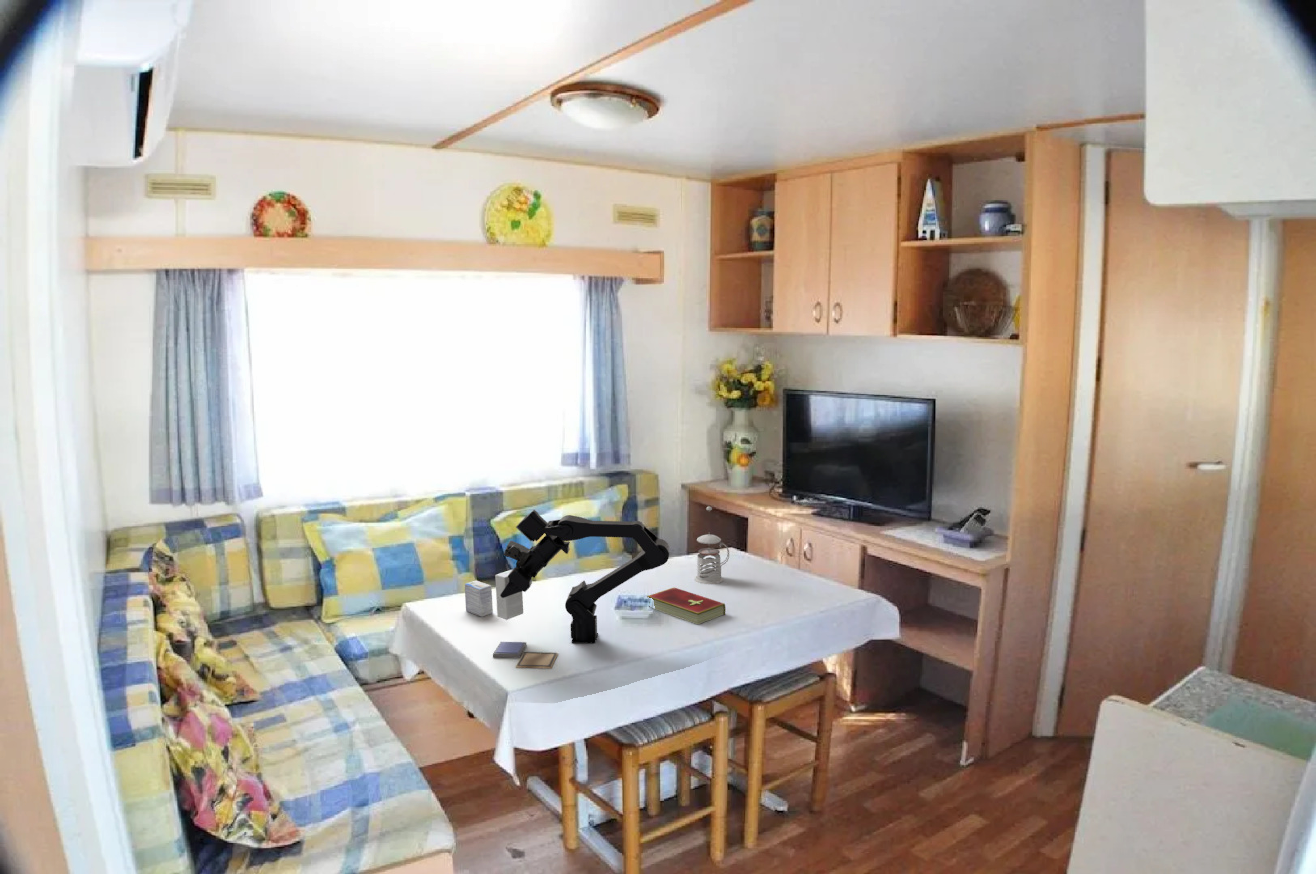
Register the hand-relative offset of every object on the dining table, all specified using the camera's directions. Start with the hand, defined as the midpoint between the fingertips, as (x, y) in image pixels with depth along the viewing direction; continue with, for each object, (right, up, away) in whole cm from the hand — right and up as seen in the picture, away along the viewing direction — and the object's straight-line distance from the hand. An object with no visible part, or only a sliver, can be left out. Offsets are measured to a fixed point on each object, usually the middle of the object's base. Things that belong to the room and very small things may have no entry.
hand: (504, 592), depth 229 cm
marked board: (+11, -15, -13) cm, 23 cm away
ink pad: (+3, -14, -7) cm, 16 cm away
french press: (+60, -5, +52) cm, 80 cm away
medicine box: (-12, -10, +23) cm, 28 cm away
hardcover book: (+50, -10, +23) cm, 56 cm away
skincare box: (+1, -7, +1) cm, 7 cm away
